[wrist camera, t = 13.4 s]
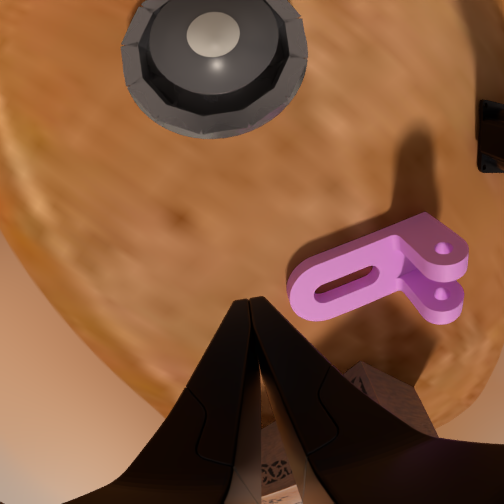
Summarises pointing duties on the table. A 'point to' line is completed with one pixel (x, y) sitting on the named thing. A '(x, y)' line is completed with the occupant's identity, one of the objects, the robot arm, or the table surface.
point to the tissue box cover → (372, 384)
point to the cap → (213, 43)
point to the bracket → (387, 272)
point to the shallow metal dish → (214, 107)
